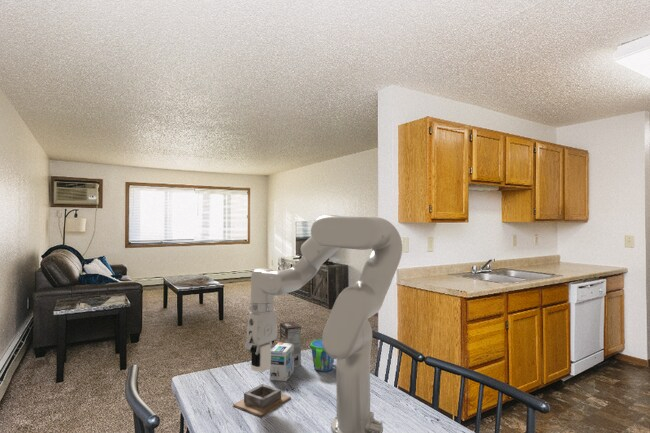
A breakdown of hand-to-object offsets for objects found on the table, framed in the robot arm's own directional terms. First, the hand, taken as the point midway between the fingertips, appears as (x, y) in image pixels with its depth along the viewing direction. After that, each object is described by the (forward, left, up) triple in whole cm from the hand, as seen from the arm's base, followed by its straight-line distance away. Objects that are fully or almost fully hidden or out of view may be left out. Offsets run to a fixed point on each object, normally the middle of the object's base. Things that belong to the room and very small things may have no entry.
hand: (261, 362), depth 118 cm
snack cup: (-1, -34, -13) cm, 36 cm away
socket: (-1, 0, -13) cm, 13 cm away
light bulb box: (+8, -20, -13) cm, 25 cm away
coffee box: (+13, -31, -13) cm, 36 cm away
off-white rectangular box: (0, 0, -2) cm, 2 cm away
